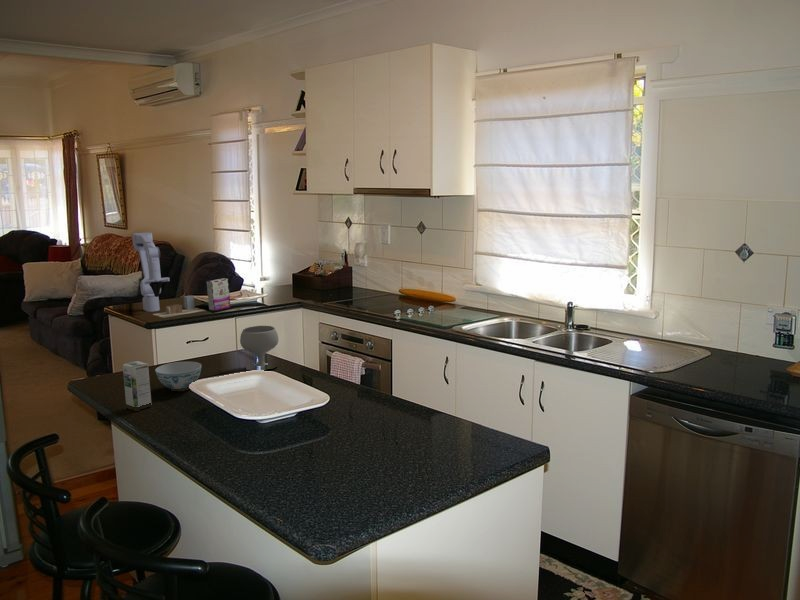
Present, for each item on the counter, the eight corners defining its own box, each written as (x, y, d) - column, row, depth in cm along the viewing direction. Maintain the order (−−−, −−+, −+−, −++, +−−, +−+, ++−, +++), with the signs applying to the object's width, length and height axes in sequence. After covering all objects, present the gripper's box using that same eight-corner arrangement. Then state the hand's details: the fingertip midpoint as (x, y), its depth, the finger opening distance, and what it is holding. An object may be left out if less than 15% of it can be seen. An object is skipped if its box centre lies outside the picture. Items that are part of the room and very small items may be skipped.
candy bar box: (225, 307, 386) (222, 278, 383) (230, 308, 383) (228, 278, 380) (208, 311, 377) (205, 280, 374) (214, 311, 374) (211, 281, 371)
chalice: (275, 361, 271) (273, 323, 268) (283, 370, 258) (281, 330, 256) (239, 366, 266) (236, 327, 263) (245, 375, 253) (242, 335, 251)
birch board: (152, 315, 369) (151, 314, 368) (194, 308, 384) (194, 307, 384) (163, 319, 358) (163, 317, 358) (206, 312, 374) (206, 310, 374)
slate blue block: (184, 309, 380) (183, 296, 379) (191, 308, 383) (190, 295, 381) (187, 310, 377) (186, 297, 376) (194, 308, 380) (193, 296, 378)
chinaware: (165, 399, 229) (163, 376, 227) (151, 388, 241) (149, 366, 239) (209, 389, 237) (208, 367, 236) (194, 380, 249) (192, 359, 248)
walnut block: (165, 306, 368) (178, 304, 373) (166, 313, 369) (179, 311, 374) (169, 306, 366) (181, 305, 370) (169, 314, 366) (182, 312, 371)
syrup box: (125, 409, 220) (121, 364, 217) (142, 403, 225) (138, 360, 222) (135, 412, 216) (131, 367, 214) (152, 407, 221) (148, 362, 218)
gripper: (143, 272, 355) (146, 299, 357) (171, 269, 365) (173, 295, 367) (138, 271, 360) (140, 297, 363) (165, 268, 370) (167, 294, 372)
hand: (156, 296), depth 365 cm, fingers closed
